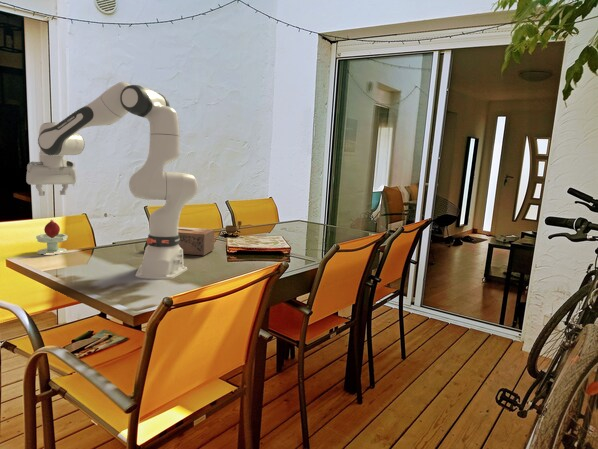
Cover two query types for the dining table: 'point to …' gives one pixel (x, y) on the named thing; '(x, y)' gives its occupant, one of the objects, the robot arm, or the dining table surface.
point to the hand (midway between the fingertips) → (52, 195)
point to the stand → (51, 243)
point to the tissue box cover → (196, 240)
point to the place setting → (232, 228)
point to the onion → (52, 229)
